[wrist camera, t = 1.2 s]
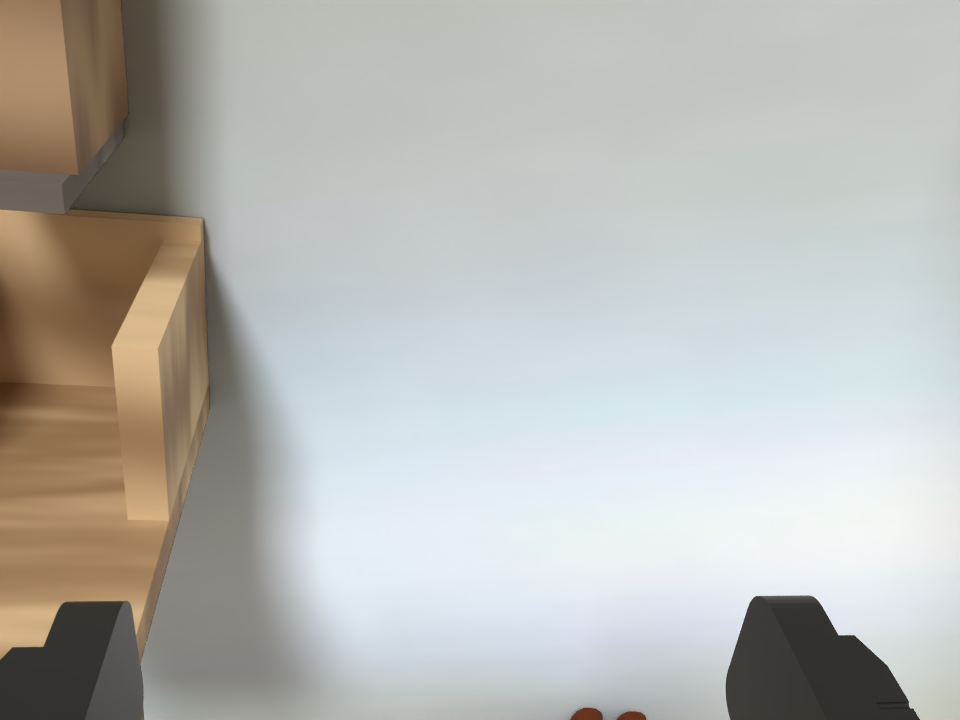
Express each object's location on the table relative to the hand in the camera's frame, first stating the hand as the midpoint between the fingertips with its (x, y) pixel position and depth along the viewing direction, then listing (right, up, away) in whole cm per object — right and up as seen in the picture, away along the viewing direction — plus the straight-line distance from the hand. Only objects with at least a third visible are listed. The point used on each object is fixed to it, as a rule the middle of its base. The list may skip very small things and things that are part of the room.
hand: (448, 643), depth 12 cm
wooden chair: (-14, +6, +21) cm, 25 cm away
